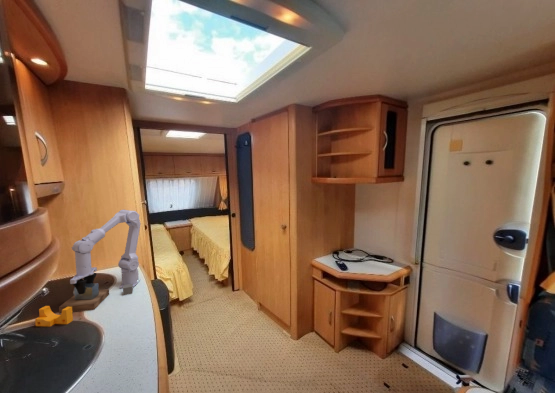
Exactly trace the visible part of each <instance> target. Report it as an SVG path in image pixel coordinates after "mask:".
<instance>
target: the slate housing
mask: <svg viewBox="0 0 555 393" xmlns="http://www.w3.org/2000/svg"><path fill="white" fill-rule="evenodd" d="M99 288H100V286H99V283H98V282H97V283H96V282H95V283H94V282H93V283H87V284H85V292H84V294H79V293H78V291H77V289H76V288H75V287H74V288H73V291H72V295H73V296H74V295H75V300H83V299H94V298H95V297H96V296H98V295H99V290H100V289H99Z"/></svg>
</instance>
